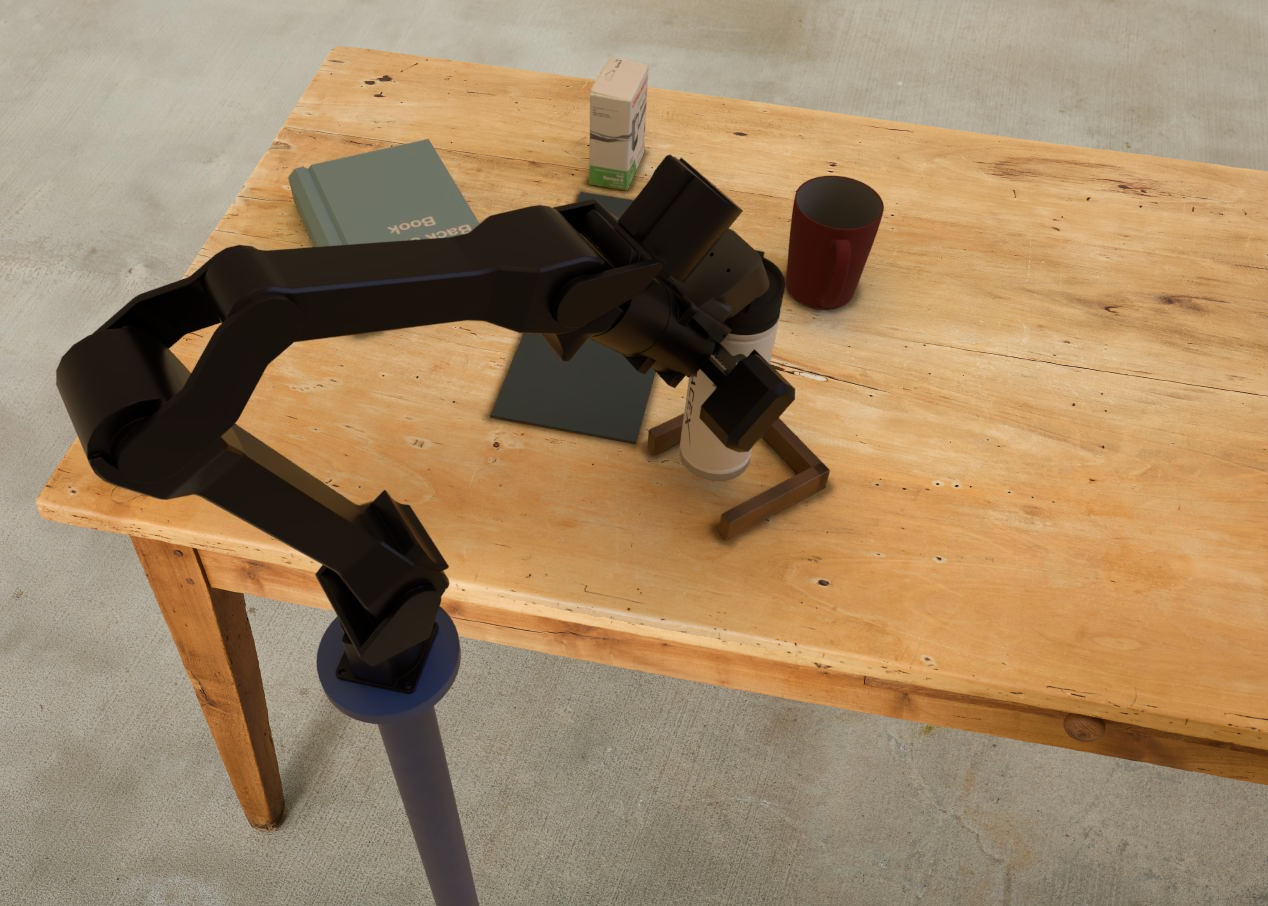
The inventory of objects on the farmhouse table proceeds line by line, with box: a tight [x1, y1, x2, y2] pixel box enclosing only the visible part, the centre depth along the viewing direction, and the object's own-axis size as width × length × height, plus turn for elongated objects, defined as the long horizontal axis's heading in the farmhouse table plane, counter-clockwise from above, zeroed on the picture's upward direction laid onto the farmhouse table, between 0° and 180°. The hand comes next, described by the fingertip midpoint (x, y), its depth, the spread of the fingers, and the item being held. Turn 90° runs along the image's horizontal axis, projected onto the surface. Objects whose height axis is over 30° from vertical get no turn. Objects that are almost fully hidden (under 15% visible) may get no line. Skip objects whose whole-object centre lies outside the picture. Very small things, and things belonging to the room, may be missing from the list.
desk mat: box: [489, 191, 656, 445], centre depth 110 cm, size 36×14×1 cm, turn 168°
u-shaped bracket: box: [646, 412, 831, 541], centre depth 96 cm, size 11×12×2 cm
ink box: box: [588, 57, 650, 191], centre depth 121 cm, size 9×5×12 cm, turn 166°
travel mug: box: [678, 249, 786, 483], centre depth 85 cm, size 6×7×20 cm
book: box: [287, 138, 480, 247], centre depth 113 cm, size 23×16×5 cm
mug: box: [785, 175, 885, 310], centre depth 108 cm, size 12×9×11 cm
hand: (741, 371), depth 86 cm, fingers closed on travel mug, 6 cm apart
